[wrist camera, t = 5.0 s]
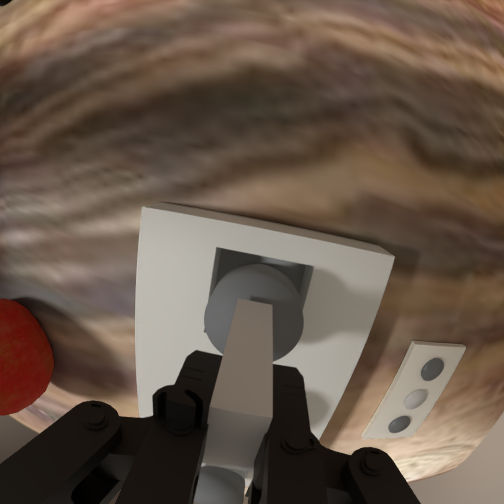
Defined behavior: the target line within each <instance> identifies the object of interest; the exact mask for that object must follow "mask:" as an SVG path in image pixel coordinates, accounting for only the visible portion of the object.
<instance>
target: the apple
mask: <svg viewBox="0 0 504 504" xmlns="http://www.w3.org/2000/svg"><path fill="white" fill-rule="evenodd" d="M53 368H54V358H53V351H52V349H51V346H50V344H49V341H48V339H47V336H46V334H45V333H44V331H43V330H42V328H41V326H40V325H39V323H38V321H37V320H36V319H35V317H34V316H33V315H32V314H31V313H30V311H29V310H28V309H27V308H26V307H24V306H23V305H21V304H19V303H18V302H16V301H14V300H8V299H0V415H9V414H13V413H17V412H19V411H21V410H22V409H24V408H26V407H27V406H29V405H31V404H32V403H34V402H35V401H36V400H37V399H38V398H39V397H40V396H41V395H42V394H43V393H44V392H45V391H46V389H47V387H48V384H49V382H50V380H51V377H52V374H53Z"/></svg>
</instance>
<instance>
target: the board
mask: <svg viewBox="0 0 504 504" xmlns="http://www.w3.org/2000/svg"><path fill="white" fill-rule="evenodd" d="M394 259H395V256H393V255H392V254H390V253H389V252H387V251H386V250H384V249H383V248H381V247H380V246H378V245H377V244H372V243H368V242H364V241H359V240H355V239H350V238H346V237H341V236H337V235H332V234H328V233H323V232H318V231H314V230H309V229H304V228H299V227H295V226H290V225H285V224H280V223H275V222H270V221H265V220H260V219H255V218H249V217H244V216H239V215H234V214H228V213H223V212H217V211H212V210H206V209H201V208H195V207H189V206H183V205H177V204H172V203H166V202H159V203H155V204H151V205H147V206H143V207H142V213H141V223H140V233H139V245H138V258H137V275H136V302H135V350H136V376H137V392H138V405H139V416H140V418H144V417H149V416H152V415H153V402H152V395H153V394H154V393H155V392H156V391H157V390H158V389H160V388H162V387H164V386H166V385H174V384H175V382H176V379H177V377H178V376H179V373H180V370H181V368H182V366H183V364H184V361H185V359H186V357H187V356H188V355H190V354H191V353H192V352H194V351H195V350H199V351H204V352H208V353H213V354H217V355H222V356H223V354H222V353H220V352H219V351H218V350H217V349H216V348H215V347H214V346H213V344H212V343H211V341H210V340H209V338H208V336H207V333H206V330H205V326H204V313H205V309H206V306H207V303H208V301H209V299H210V298H211V296H212V294H213V292H214V290H215V288H216V286H217V284H218V282H219V281H220V280H221V279H222V278H223V277H224V276H225V275H226V274H227V273H228V272H230V271H231V270H233V269H235V268H238V267H240V266H244V265H250V264H264V265H268V266H270V267H273V268H275V269H277V270H279V271H281V272H282V273H284V274H285V275H286V276H287V277H288V278H289V279H290V280H291V281H292V282H293V284H294V285H295V287H296V289H297V292H298V294H299V298H300V303H301V308H302V312H303V318H304V327H303V332H302V335H301V338H300V340H299V342H298V343H297V345H296V346H295V347H294V349H293V350H292V351H291V352H289V353H288V354H287V355H286V356H284V357H282V358H281V359H279V360H276V361H274V362H273V364H277V365H283V366H290V367H297V369H298V370H299V372H300V373H301V374H302V376H303V377H304V384H305V391H306V399H307V406H308V414H309V421H310V429H311V432H312V433H313V434H314V435H315V436H316V437H317V438H318V440H319V439H320V437H321V435H322V433H323V432H324V430H325V428H326V426H327V424H328V422H329V420H330V419H331V417H332V415H333V413H334V411H335V409H336V407H337V405H338V403H339V401H340V399H341V397H342V395H343V393H344V391H345V389H346V387H347V384H348V382H349V380H350V378H351V376H352V373H353V371H354V369H355V367H356V364H357V362H358V360H359V357H360V355H361V353H362V350H363V348H364V345H365V343H366V341H367V338H368V335H369V333H370V330H371V328H372V325H373V322H374V320H375V317H376V314H377V311H378V309H379V306H380V303H381V300H382V297H383V294H384V291H385V288H386V285H387V282H388V279H389V276H390V272H391V269H392V266H393V262H394ZM253 472H254V467H253V469H252V472H251V471H243V470H237V474H239V475H240V476H242V477H243V478H244V480H245V486H249V485H250V483H251V481H252V479H253Z"/></svg>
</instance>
